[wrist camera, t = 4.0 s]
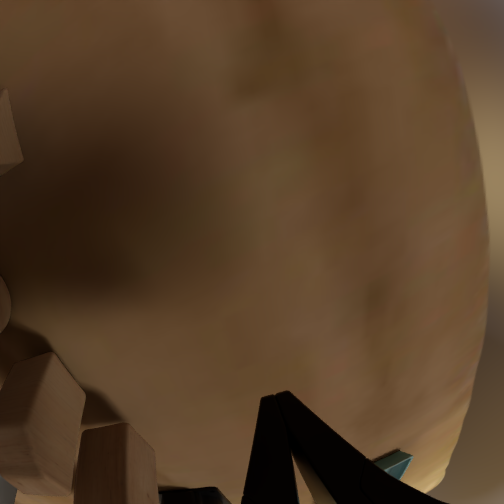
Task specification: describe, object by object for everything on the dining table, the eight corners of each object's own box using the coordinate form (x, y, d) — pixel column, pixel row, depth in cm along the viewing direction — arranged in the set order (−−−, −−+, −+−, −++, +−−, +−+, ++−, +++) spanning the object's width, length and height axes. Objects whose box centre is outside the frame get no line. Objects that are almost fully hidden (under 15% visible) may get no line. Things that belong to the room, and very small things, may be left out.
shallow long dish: (323, 475, 22) (331, 495, 20) (406, 440, 23) (416, 457, 21) (320, 525, 32) (324, 535, 30) (370, 506, 33) (375, 516, 31)
